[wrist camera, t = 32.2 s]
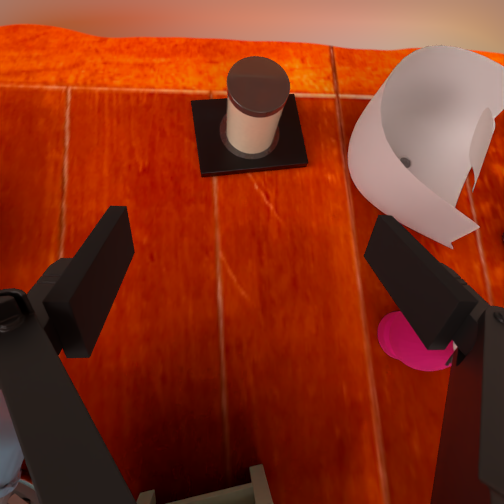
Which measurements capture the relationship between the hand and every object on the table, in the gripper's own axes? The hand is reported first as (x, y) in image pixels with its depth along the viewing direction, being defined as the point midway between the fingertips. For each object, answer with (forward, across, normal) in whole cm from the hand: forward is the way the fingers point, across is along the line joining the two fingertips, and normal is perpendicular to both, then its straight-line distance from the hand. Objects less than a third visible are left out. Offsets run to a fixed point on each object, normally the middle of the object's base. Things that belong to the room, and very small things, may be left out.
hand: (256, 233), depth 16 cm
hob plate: (+31, +2, -2) cm, 31 cm away
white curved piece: (+28, +25, -5) cm, 38 cm away
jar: (+30, +2, -1) cm, 30 cm away
